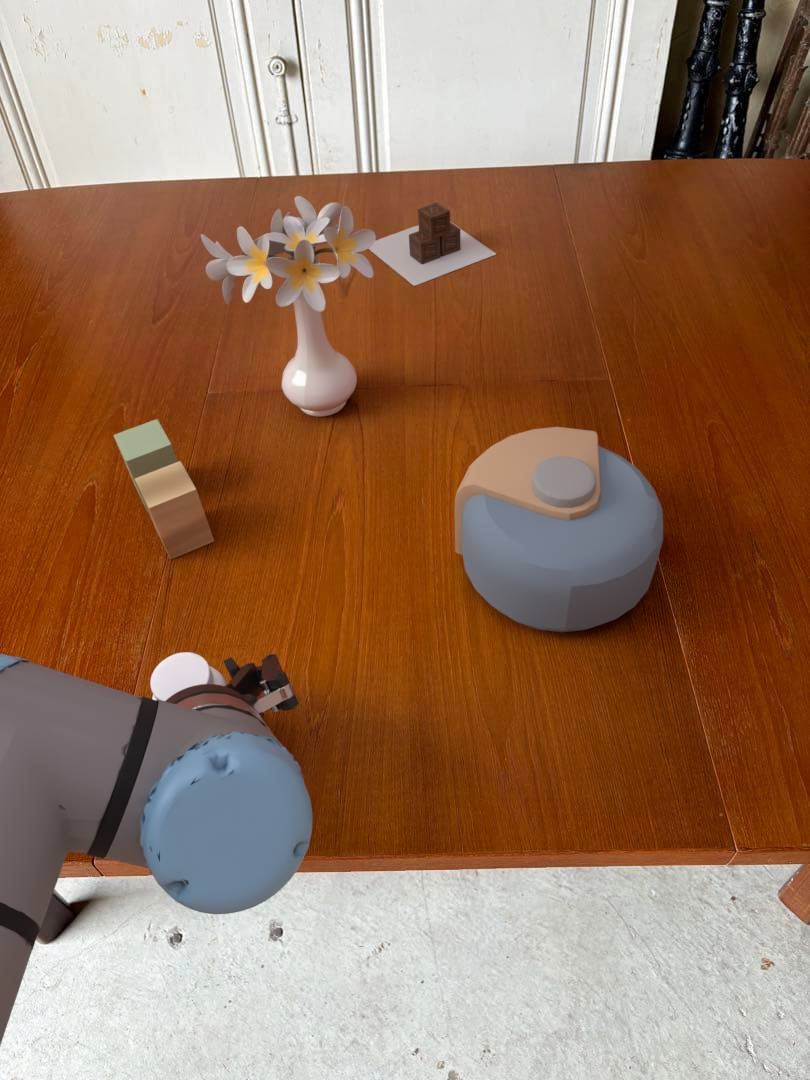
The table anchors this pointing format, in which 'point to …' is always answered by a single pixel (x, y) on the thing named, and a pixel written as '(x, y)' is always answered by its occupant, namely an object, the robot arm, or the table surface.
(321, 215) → the flower vase
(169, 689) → the pill bottle
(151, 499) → the maple block
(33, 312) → the table surface
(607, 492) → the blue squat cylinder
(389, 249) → the stack of crates
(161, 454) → the sage block
